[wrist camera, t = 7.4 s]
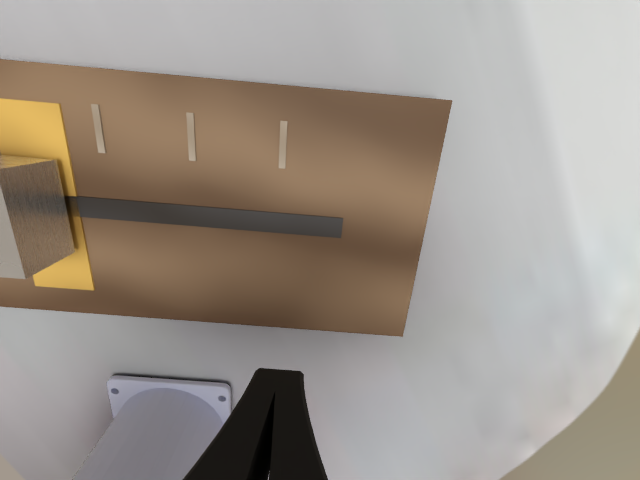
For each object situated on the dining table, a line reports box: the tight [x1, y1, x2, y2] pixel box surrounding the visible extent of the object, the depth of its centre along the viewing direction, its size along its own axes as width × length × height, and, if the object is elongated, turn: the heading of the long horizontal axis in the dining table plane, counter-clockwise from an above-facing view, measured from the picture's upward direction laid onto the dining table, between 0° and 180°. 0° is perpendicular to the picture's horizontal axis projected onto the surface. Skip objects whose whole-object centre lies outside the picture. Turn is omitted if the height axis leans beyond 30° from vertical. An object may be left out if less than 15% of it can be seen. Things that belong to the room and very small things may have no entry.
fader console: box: [0, 59, 452, 337], centre depth 16 cm, size 12×26×2 cm, turn 85°
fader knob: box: [0, 155, 75, 279], centre depth 14 cm, size 4×3×3 cm
